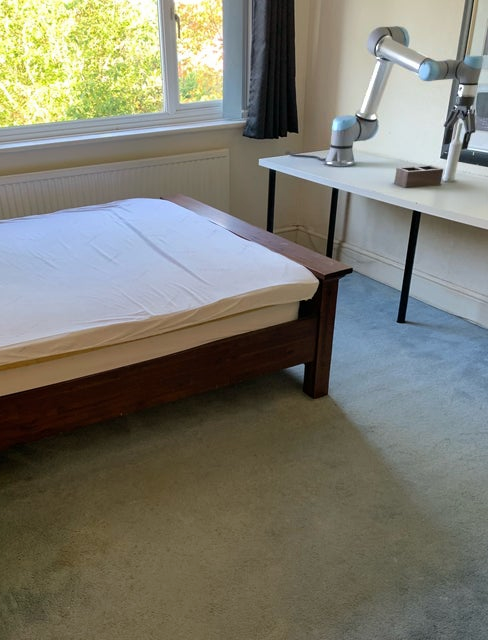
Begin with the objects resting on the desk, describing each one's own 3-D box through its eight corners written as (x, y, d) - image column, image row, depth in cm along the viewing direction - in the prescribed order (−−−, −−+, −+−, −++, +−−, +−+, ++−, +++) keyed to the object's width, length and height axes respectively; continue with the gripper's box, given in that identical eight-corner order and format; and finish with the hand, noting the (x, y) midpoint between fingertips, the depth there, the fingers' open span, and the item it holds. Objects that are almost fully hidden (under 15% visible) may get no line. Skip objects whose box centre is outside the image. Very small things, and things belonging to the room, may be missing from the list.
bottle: (448, 182, 279) (460, 124, 265) (440, 180, 283) (451, 123, 269) (456, 180, 281) (469, 123, 267) (448, 178, 285) (460, 122, 271)
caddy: (394, 183, 279) (396, 167, 275) (428, 180, 282) (431, 165, 279) (405, 187, 271) (408, 171, 267) (440, 184, 274) (443, 169, 271)
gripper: (442, 93, 272) (432, 142, 283) (476, 98, 251) (464, 151, 263) (456, 92, 273) (446, 141, 285) (491, 98, 253) (479, 150, 264)
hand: (455, 146), depth 274 cm, fingers open, 13 cm apart
